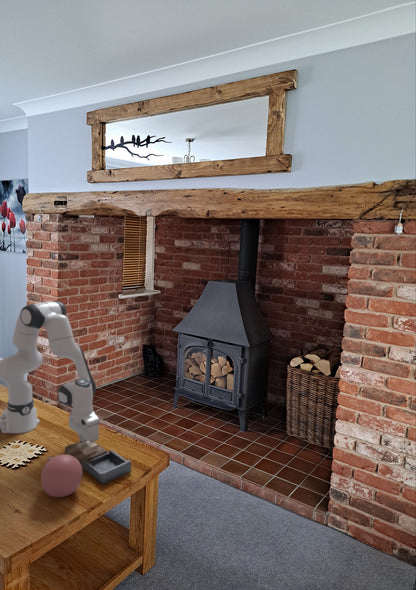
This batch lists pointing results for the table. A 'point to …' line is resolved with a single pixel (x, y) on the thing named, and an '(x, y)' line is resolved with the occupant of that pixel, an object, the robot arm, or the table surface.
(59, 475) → the balloon
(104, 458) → the box
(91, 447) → the block
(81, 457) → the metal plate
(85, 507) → the table surface
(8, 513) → the table surface
